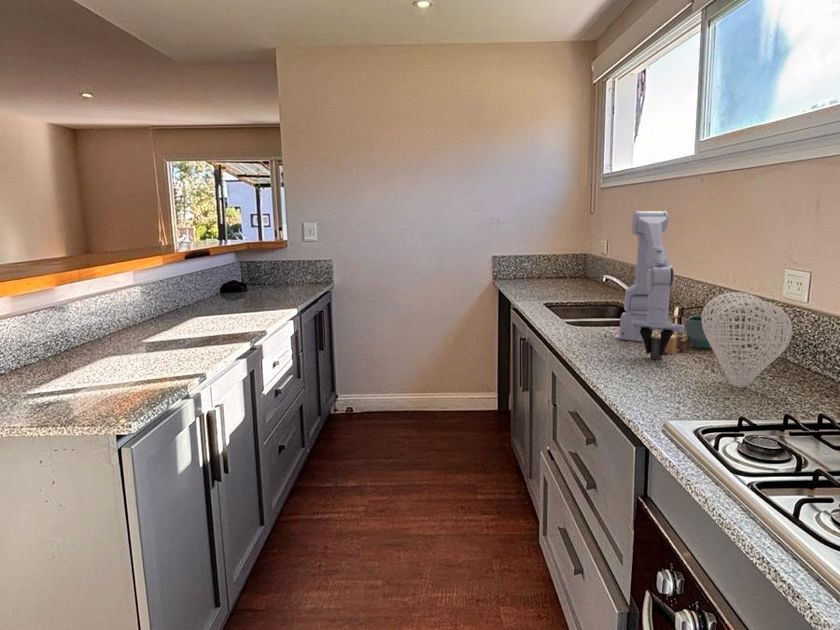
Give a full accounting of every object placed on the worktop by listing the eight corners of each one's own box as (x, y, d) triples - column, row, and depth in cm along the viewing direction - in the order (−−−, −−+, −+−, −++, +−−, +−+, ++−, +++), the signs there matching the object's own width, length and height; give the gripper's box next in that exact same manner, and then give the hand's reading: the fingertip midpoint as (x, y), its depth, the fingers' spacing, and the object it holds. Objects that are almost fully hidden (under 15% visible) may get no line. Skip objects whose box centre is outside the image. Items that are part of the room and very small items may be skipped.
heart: (692, 370, 153) (698, 288, 149) (756, 374, 149) (764, 290, 145) (715, 402, 126) (723, 303, 122) (795, 407, 122) (805, 305, 118)
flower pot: (714, 351, 176) (716, 322, 174) (683, 347, 181) (685, 319, 179) (719, 346, 182) (722, 318, 181) (690, 342, 188) (692, 315, 186)
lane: (649, 348, 180) (650, 337, 179) (656, 343, 186) (657, 333, 185) (683, 352, 174) (684, 341, 173) (689, 347, 180) (690, 336, 179)
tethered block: (645, 357, 167) (646, 337, 166) (659, 349, 178) (660, 330, 177) (663, 360, 164) (664, 339, 163) (676, 351, 175) (677, 332, 174)
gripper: (628, 307, 165) (625, 353, 167) (681, 312, 156) (678, 360, 158) (635, 304, 170) (632, 348, 173) (687, 308, 162) (684, 355, 164)
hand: (655, 353), depth 166 cm, fingers closed on tethered block, 3 cm apart
